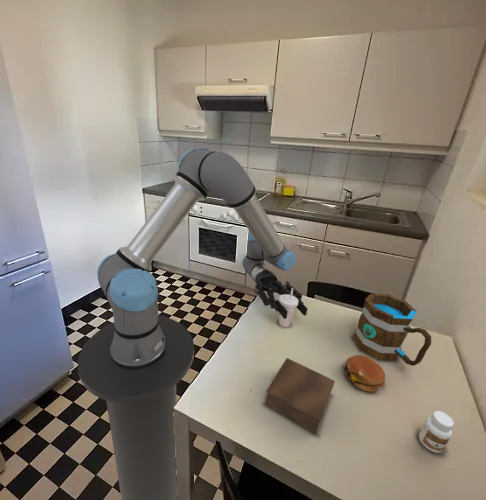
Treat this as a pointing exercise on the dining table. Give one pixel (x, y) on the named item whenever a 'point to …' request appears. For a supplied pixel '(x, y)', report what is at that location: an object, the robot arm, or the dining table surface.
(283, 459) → the dining table surface
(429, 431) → the pill bottle
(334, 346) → the dining table surface
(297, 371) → the walnut box
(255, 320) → the dining table surface
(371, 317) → the mug
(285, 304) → the smoothie
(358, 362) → the burger
